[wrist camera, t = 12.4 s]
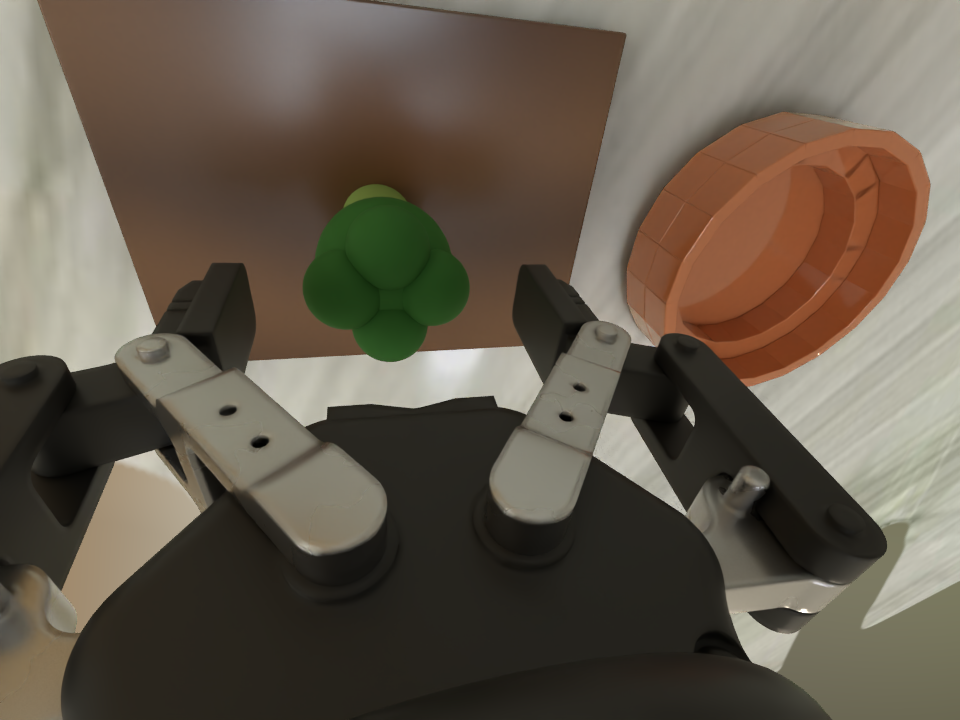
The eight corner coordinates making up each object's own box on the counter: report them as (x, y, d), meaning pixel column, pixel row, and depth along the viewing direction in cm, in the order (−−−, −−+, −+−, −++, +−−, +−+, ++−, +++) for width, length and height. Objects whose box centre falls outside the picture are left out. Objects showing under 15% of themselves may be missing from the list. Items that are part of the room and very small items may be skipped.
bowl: (667, 99, 22) (736, 118, 18) (893, 119, 26) (992, 139, 22) (594, 347, 30) (631, 397, 27) (772, 337, 34) (828, 379, 30)
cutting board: (49, -39, 15) (19, -45, 14) (607, 31, 20) (627, 33, 18) (179, 344, 24) (169, 365, 22) (545, 328, 29) (555, 344, 27)
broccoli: (305, 150, 18) (286, 221, 12) (440, 156, 20) (485, 223, 13) (319, 275, 21) (310, 382, 15) (435, 273, 23) (470, 371, 17)
